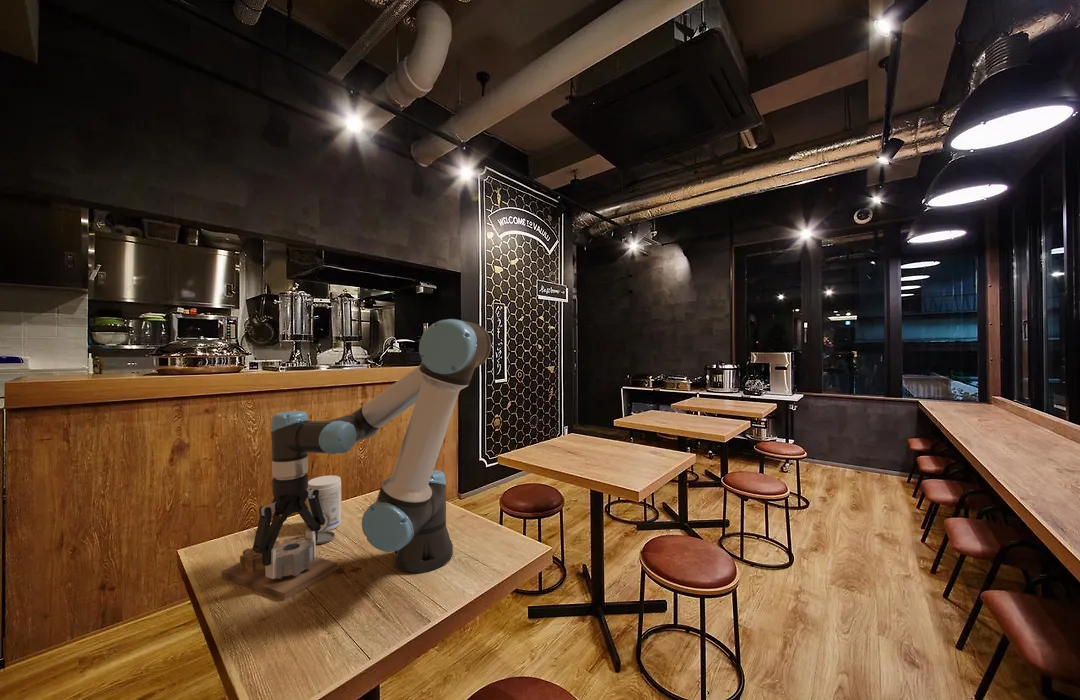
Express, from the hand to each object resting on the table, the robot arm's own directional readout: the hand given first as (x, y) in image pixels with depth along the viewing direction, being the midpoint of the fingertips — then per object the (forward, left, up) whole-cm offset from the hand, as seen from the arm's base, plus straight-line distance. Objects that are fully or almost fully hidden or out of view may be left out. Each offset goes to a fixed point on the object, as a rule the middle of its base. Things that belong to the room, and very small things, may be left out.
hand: (291, 566), depth 101 cm
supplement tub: (+17, -23, -3) cm, 29 cm away
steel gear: (0, 0, 0) cm, 0 cm away
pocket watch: (+11, -17, -3) cm, 20 cm away
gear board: (+4, 0, -3) cm, 5 cm away
